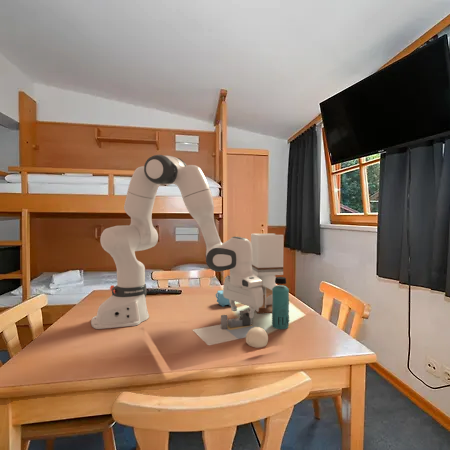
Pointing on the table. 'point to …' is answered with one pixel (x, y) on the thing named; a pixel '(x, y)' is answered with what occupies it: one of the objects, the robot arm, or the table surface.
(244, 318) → the latch bar
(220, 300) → the teapot
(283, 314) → the beverage bottle
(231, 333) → the door board
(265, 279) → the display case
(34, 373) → the table surface
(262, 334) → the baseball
